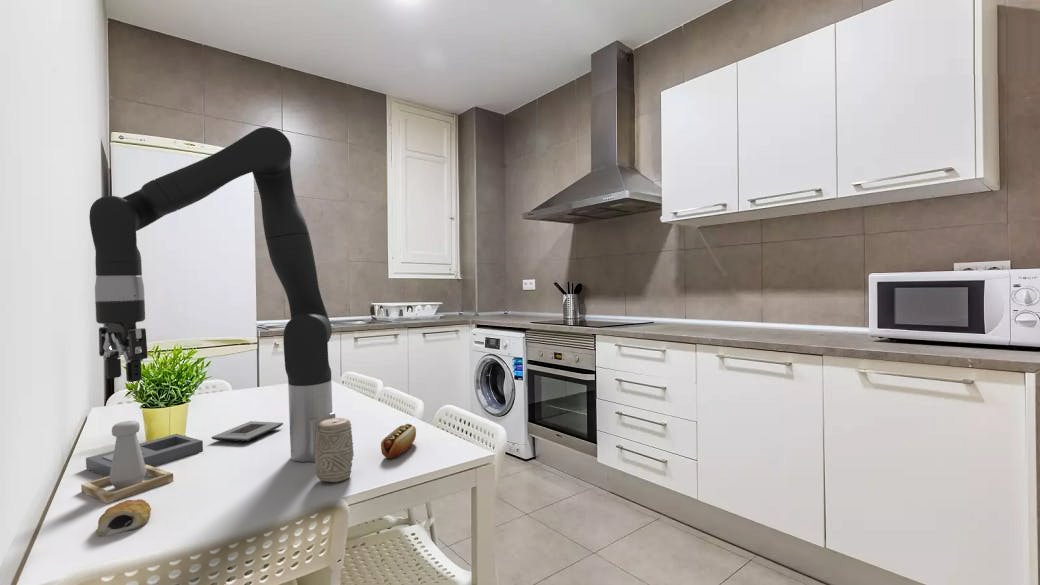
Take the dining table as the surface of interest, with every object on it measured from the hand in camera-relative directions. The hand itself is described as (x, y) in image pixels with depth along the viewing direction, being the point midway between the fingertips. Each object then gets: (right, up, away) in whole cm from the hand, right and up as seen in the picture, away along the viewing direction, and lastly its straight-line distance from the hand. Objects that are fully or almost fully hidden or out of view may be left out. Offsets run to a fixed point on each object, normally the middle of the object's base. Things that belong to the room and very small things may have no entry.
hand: (123, 379), depth 95 cm
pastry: (+12, -22, -14) cm, 29 cm away
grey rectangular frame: (-7, -21, +15) cm, 27 cm away
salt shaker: (0, -22, +1) cm, 22 cm away
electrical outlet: (+7, -21, +31) cm, 38 cm away
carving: (+42, -21, +2) cm, 47 cm away
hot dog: (+51, -20, +17) cm, 58 cm away
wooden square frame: (0, -22, +1) cm, 22 cm away
